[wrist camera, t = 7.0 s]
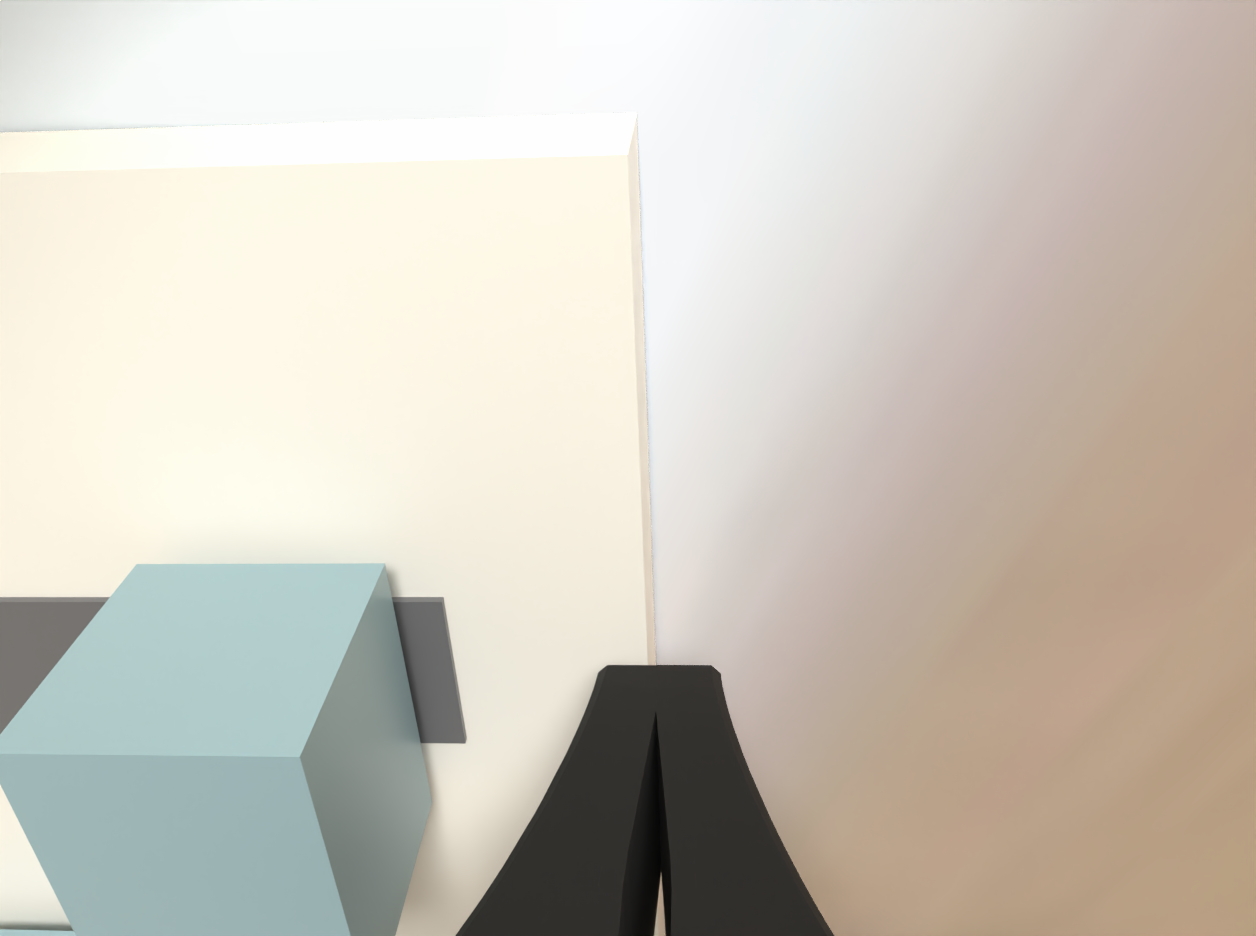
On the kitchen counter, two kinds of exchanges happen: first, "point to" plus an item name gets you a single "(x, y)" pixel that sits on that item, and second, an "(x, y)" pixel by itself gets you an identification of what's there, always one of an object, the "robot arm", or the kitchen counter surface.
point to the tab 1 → (35, 933)
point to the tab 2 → (226, 757)
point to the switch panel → (340, 420)
